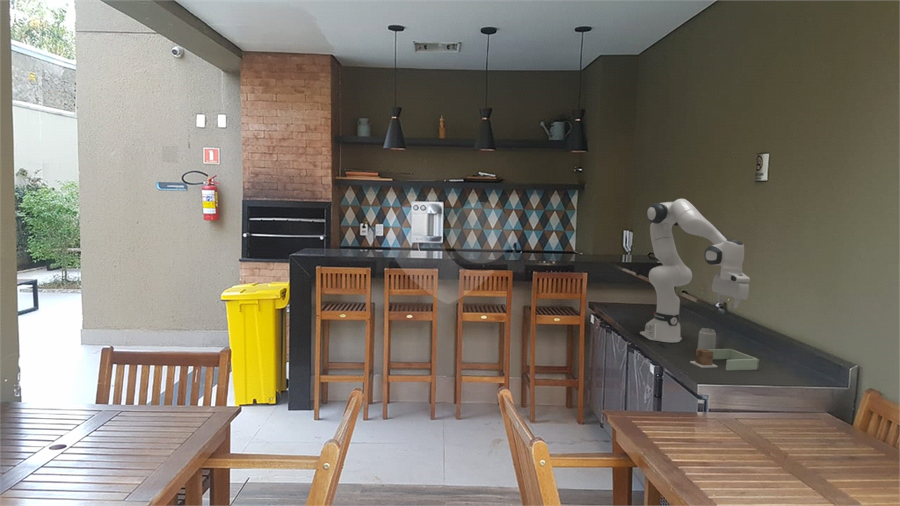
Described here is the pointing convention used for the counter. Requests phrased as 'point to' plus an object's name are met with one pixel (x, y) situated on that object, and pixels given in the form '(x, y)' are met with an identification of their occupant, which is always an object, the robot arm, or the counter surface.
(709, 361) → the block
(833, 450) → the counter surface
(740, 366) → the pale green frame
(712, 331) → the can
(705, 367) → the coaster
